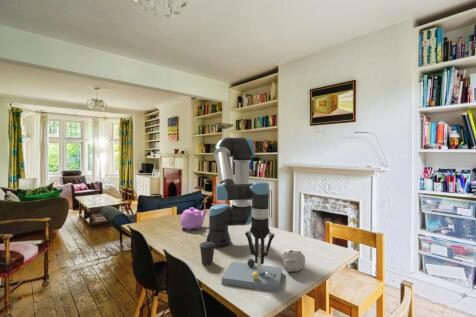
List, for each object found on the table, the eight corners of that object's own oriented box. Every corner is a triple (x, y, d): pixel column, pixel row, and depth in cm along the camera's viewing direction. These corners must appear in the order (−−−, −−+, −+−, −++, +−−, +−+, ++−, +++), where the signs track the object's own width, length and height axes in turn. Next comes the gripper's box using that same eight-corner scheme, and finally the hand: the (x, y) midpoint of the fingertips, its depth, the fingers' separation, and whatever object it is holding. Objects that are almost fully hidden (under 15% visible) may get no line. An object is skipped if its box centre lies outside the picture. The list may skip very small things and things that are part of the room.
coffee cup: (217, 260, 125) (217, 240, 125) (212, 267, 117) (212, 246, 117) (202, 258, 127) (202, 239, 127) (196, 265, 119) (196, 245, 119)
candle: (286, 275, 109) (278, 264, 124) (310, 274, 110) (299, 263, 125) (285, 254, 110) (277, 246, 125) (309, 254, 111) (299, 245, 126)
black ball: (246, 267, 112) (246, 260, 112) (248, 264, 115) (248, 256, 115) (254, 268, 111) (254, 260, 111) (255, 265, 115) (255, 257, 115)
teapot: (213, 229, 176) (213, 208, 176) (187, 234, 165) (187, 212, 165) (201, 222, 192) (201, 203, 192) (177, 227, 181) (177, 206, 181)
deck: (221, 283, 103) (221, 277, 103) (231, 266, 118) (231, 261, 118) (279, 291, 97) (279, 285, 97) (281, 272, 113) (281, 267, 112)
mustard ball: (251, 280, 101) (251, 273, 101) (252, 277, 104) (252, 270, 103) (258, 281, 100) (258, 274, 100) (259, 277, 103) (259, 270, 103)
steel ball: (261, 278, 105) (266, 273, 104) (262, 273, 108) (267, 268, 107) (267, 283, 105) (273, 278, 104) (268, 278, 108) (273, 273, 107)
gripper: (243, 218, 104) (243, 272, 105) (274, 220, 101) (273, 276, 102) (247, 214, 112) (246, 265, 112) (275, 216, 108) (275, 268, 109)
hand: (259, 270), depth 107 cm, fingers closed
